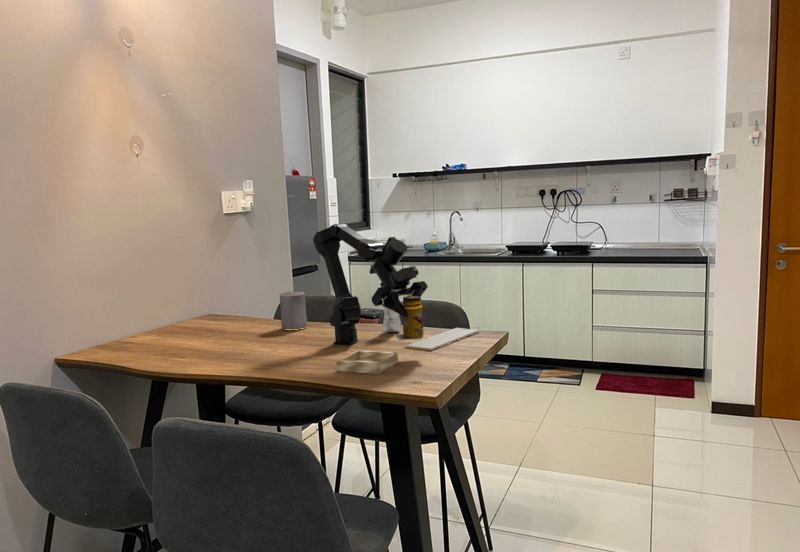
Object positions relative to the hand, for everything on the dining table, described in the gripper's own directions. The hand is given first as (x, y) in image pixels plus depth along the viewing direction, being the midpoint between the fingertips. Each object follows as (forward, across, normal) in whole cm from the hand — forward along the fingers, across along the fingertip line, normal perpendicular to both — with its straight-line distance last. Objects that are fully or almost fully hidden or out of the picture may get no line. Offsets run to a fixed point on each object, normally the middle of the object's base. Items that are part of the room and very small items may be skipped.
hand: (414, 314), depth 174 cm
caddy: (+6, -15, +12) cm, 20 cm away
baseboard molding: (+2, +23, +18) cm, 30 cm away
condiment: (+4, -1, +6) cm, 7 cm away
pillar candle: (-40, +3, +60) cm, 72 cm away
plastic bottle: (-14, +21, +34) cm, 42 cm away
